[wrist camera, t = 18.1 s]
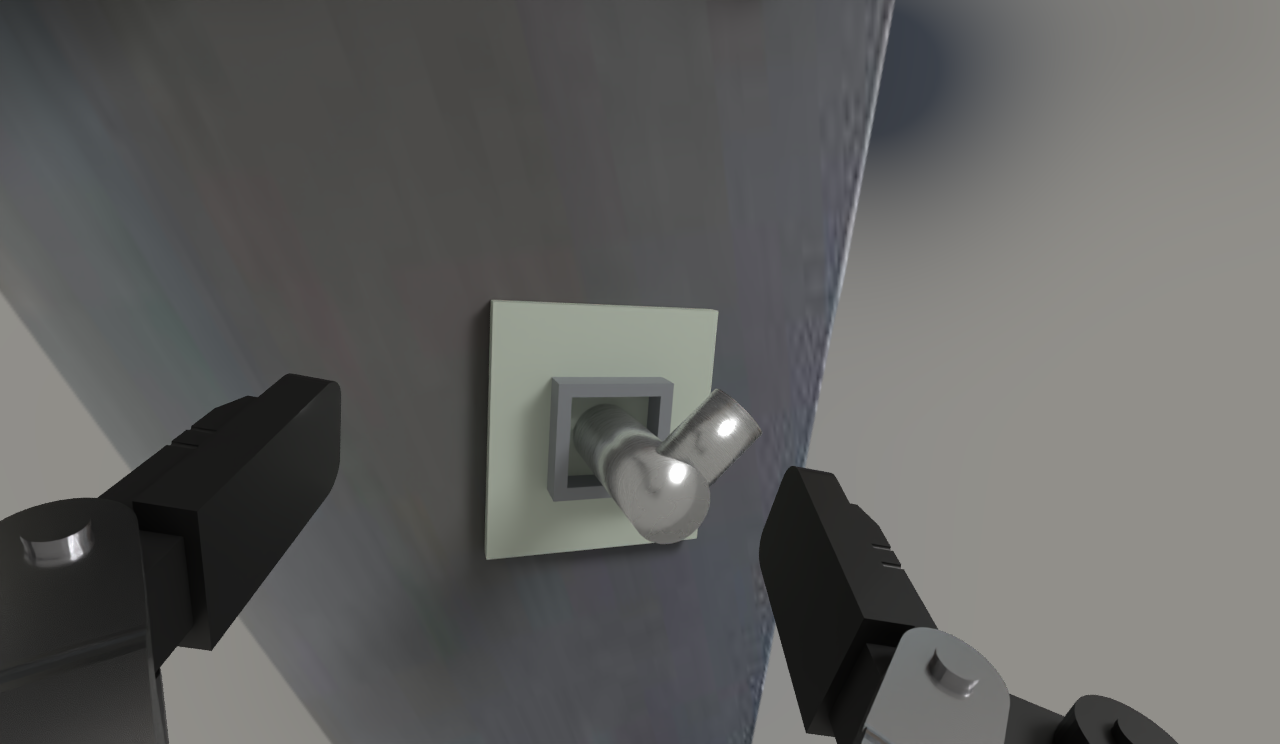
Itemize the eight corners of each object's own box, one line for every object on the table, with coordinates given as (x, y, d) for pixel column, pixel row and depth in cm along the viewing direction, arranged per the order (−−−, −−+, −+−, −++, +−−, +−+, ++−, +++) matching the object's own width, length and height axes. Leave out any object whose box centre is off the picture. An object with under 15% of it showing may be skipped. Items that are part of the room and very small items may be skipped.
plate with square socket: (484, 550, 48) (489, 576, 45) (490, 299, 45) (497, 305, 41) (689, 530, 55) (709, 551, 51) (710, 309, 51) (732, 314, 47)
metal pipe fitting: (601, 476, 49) (666, 560, 36) (560, 435, 47) (613, 508, 34) (684, 394, 50) (776, 447, 37) (647, 351, 48) (731, 391, 35)
